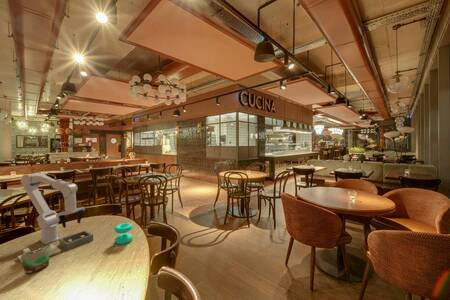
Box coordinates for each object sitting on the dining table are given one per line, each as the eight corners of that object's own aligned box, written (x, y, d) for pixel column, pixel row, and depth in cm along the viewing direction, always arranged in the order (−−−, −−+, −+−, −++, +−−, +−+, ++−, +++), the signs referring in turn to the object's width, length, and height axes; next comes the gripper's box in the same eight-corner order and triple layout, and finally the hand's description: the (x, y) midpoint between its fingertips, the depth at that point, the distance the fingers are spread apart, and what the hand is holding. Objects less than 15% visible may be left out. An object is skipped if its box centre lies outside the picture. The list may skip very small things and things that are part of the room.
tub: (59, 244, 124) (59, 239, 124) (85, 235, 136) (85, 230, 136) (66, 250, 118) (66, 244, 118) (93, 240, 130) (93, 234, 130)
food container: (31, 278, 95) (30, 257, 94) (21, 276, 96) (20, 255, 95) (58, 262, 107) (57, 243, 106) (48, 260, 108) (47, 242, 107)
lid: (17, 259, 109) (17, 249, 109) (53, 247, 122) (52, 237, 122) (24, 267, 103) (23, 256, 103) (61, 253, 115) (60, 243, 115)
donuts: (110, 227, 125) (123, 221, 134) (111, 243, 125) (124, 236, 135) (123, 230, 122) (135, 223, 131) (123, 246, 122) (136, 238, 132)
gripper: (58, 208, 119) (60, 230, 119) (86, 201, 131) (87, 222, 131) (54, 206, 122) (55, 228, 123) (81, 199, 135) (82, 220, 135)
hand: (71, 225), depth 128 cm, fingers open, 7 cm apart
